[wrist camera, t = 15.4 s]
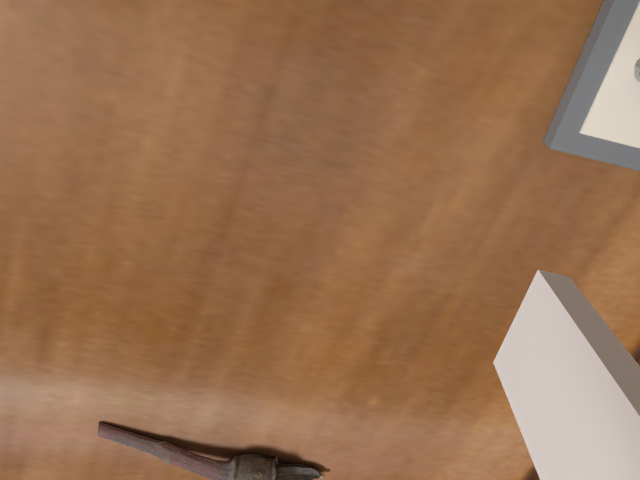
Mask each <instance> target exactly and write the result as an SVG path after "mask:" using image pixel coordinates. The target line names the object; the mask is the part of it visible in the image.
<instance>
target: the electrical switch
mask: <svg viewBox="0 0 640 480" xmlns="http://www.w3.org/2000/svg"><path fill="white" fill-rule="evenodd" d="M634 77H635V78H636V80H637V81H638V82H640V59H639V60H637V62H636V64H635V68H634Z"/></svg>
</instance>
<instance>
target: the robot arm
mask: <svg viewBox="0 0 640 480" xmlns="http://www.w3.org/2000/svg"><path fill="white" fill-rule="evenodd" d="M493 363H494V365H495V368H496V370H497V373H498V375H499V378H500V380H501V383H502V385H503V388H504V390H505V393H506V395H507V398H508V400H509V403H510V405H511V408H512V410H513V413H514V415H515V418H516V420H517V423H518V425H519V428H520V431H521V433H522V436H523V438H524V441H525V443H526V446H527V448H528V451H529V453H530V456H531V458H532V461H533V463H534V466H535V468H536V471H537V473H538V476H539V478H540V480H640V366H639V365H638V363H637V362H636V361H635V360H634V358H633V357H632V356H631V355H630V353H629V352H628V351H627V349H626V348H625V347H624V346H623V344H622V343H621V342H620V340H619V339H618V338H617V337H616V335H615V334H614V333H613V332H612V330H611V329H610V328H609V326H608V325H607V324H606V323H605V321H604V320H603V319H602V318H601V316H600V315H599V314H598V312H597V311H596V310H595V309H594V307H593V306H592V305H591V304H590V302H589V301H588V300H587V298H586V297H585V296H584V295H583V293H582V292H581V291H580V289H579V288H578V287H577V286H576V284H575V283H574V282H573V281H572V279H571V278H570V277H568V276H564V275H560V274H555V273H551V272H547V271H543V270H538V271H537V273H536V275H535V277H534V279H533V281H532V283H531V285H530V287H529V289H528V291H527V293H526V296H525V298H524V300H523V302H522V304H521V306H520V308H519V310H518V312H517V314H516V316H515V318H514V320H513V323H512V325H511V327H510V329H509V331H508V333H507V335H506V337H505V339H504V341H503V343H502V345H501V347H500V350H499V352H498V354H497V356H496V358H495V360H494V362H493Z"/></svg>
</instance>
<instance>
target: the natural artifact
mask: <svg viewBox="0 0 640 480" xmlns="http://www.w3.org/2000/svg"><path fill="white" fill-rule="evenodd" d="M98 436H99V437H102V438H105V439H110V440H113V441H115V442H119V443H122V444H126V445H127V446H132V447H134V448H137V449H140V450H142V451H145V452H148V453H150V454H152V455H155V456H157V457H159V458H161V459H162V460H163V461H165V462H166V463H167V464H173V465H176V466H179V467H181V468H184V469H186V470H189V471H192V472H194V473H197V474H199V475H202V476H205V477H208V478H210V479H212V480H313V479H318V478H323V477H324V474H321V473H320V472H319V470H318V469H316V468H314V467H308V466H306V465H304V464H282V463H277V462H278V459H277V456H276V457H275V458H266V457H263V456H262V455H260V454H242V455H240V456H234V457H233V458H232V459H230V460H229V461H221V460H214V459H211V458H208V457H204V456H200V455H197V454H194V453H192V452H189V451H187V450H184V449H182V448H179V447H176V446H174V445H172V444H170V443H168V442H167V441H159V440H154V439H151V438H149V437H147V436H141V435H138V434H135V433H132V432H129V431H126V430H123V429H119V428H117V427H113V426H110V425H107V424H104V423H100V422H99V426H98Z"/></svg>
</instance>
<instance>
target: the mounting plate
mask: <svg viewBox="0 0 640 480" xmlns="http://www.w3.org/2000/svg"><path fill="white" fill-rule="evenodd" d="M639 59H640V0H604V1H603V4H602V6H601V8H600V11H599V13H598V15H597V18H596V20H595V22H594V25H593V27H592V29H591V31H590V34H589V36H588V38H587V41H586V43H585V45H584V48H583V50H582V52H581V55H580V57H579V59H578V62H577V64H576V66H575V68H574V71H573V73H572V75H571V78H570V80H569V82H568V85H567V87H566V89H565V92H564V94H563V96H562V99H561V101H560V103H559V106H558V108H557V110H556V112H555V115H554V117H553V119H552V122H551V124H550V126H549V129H548V131H547V133H546V136H545V138H544V140H543V144H544V145H545V146H547V147H548V148H549V149H553V150H558V151H562V152H566V153H570V154H574V155H578V156H582V157H586V158H590V159H594V160H598V161H602V162H606V163H610V164H614V165H618V166H622V167H626V168H630V169H634V170H638V171H640V82H638V81H637V80H636V78H635V77H634V68H635V64H636V62H637V60H639Z"/></svg>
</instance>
